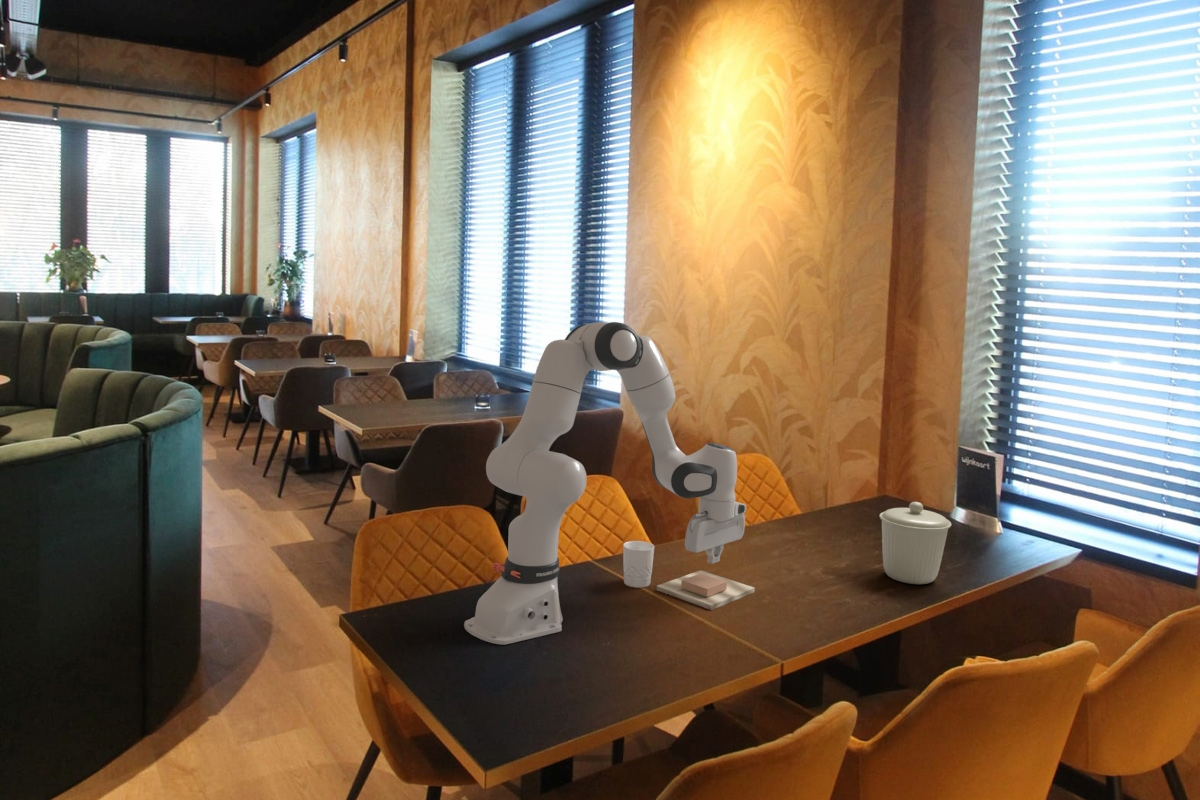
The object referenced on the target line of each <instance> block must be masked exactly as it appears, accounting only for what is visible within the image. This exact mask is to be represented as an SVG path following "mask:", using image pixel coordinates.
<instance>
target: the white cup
mask: <svg viewBox="0 0 1200 800" xmlns="http://www.w3.org/2000/svg"><path fill="white" fill-rule="evenodd" d="M622 547H623V550H622V551H623V557H622V559H623V560H622V561H623V563H622V564H623V568H622V569H623V583H624V584H625V586H628V587H630V588H639V589H640V588H642V589H643V588H646V587H650V584H651V580H652V574H653V565H654V564H653V563H654V554H655V553H654V552H655V545H654V544H653V543H651V542H647V541H643V540H642V541H641V540H630V541H626V542H624V543H623V545H622Z"/></svg>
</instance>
